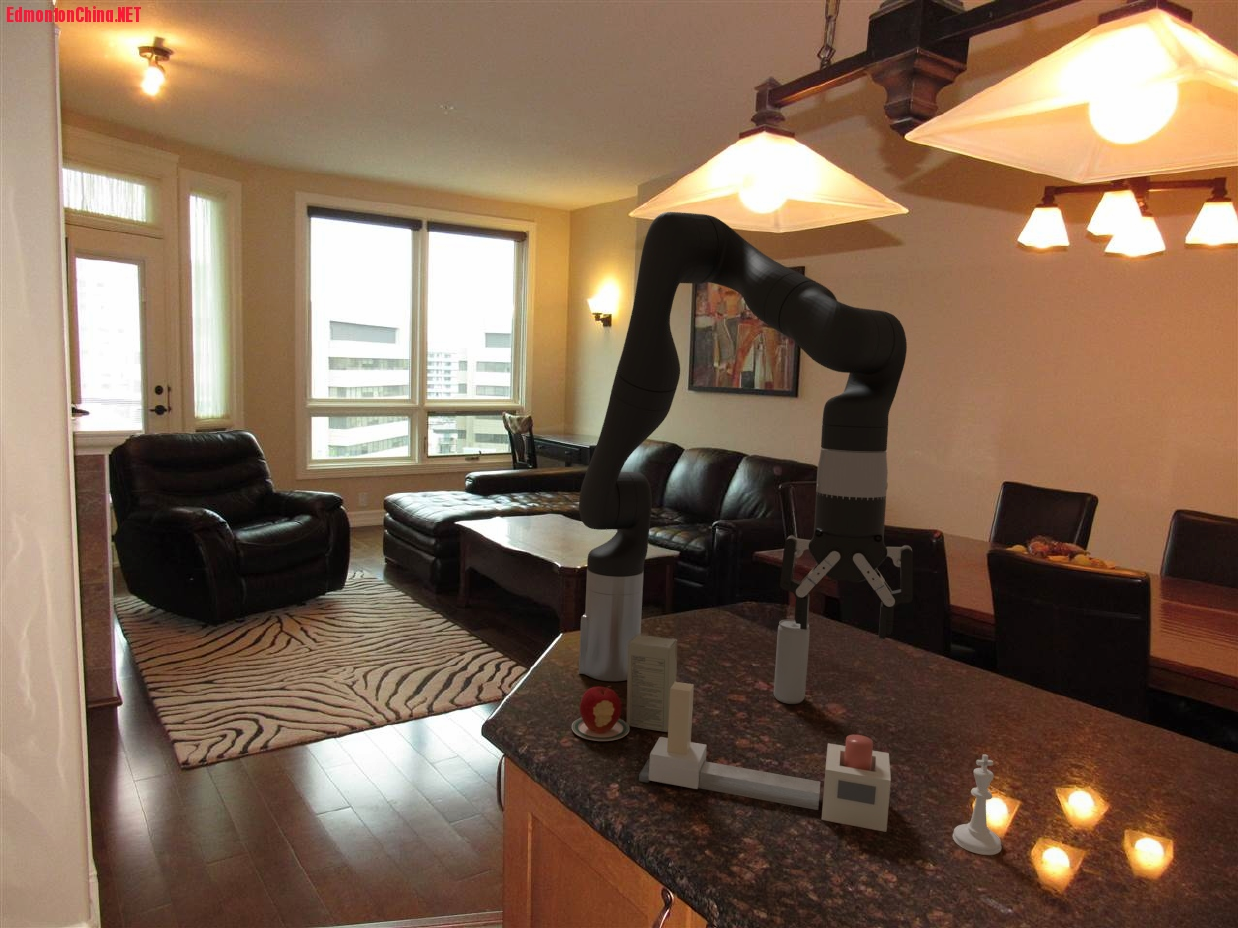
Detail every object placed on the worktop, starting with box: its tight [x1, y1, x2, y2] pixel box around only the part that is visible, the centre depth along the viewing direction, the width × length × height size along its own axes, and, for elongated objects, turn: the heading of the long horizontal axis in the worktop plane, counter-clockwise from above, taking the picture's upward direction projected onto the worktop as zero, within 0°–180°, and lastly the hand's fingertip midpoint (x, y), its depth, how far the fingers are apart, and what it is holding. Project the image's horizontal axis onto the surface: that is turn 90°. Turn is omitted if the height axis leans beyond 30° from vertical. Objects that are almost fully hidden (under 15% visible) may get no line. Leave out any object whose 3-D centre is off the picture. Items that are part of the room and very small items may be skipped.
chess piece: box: [952, 753, 1003, 856], centre depth 90 cm, size 5×5×10 cm
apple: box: [571, 685, 630, 742], centre depth 113 cm, size 8×8×6 cm
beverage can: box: [773, 619, 811, 705], centre depth 127 cm, size 5×5×12 cm
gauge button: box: [844, 734, 874, 771], centre depth 95 cm, size 3×3×5 cm
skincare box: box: [626, 634, 678, 733], centre depth 116 cm, size 6×4×12 cm
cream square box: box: [821, 742, 892, 833], centre depth 95 cm, size 7×7×6 cm
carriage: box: [649, 681, 707, 790], centre depth 101 cm, size 6×5×11 cm
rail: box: [638, 756, 821, 811], centre depth 100 cm, size 21×5×2 cm, turn 74°
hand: (842, 632), depth 93 cm, fingers open, 8 cm apart
